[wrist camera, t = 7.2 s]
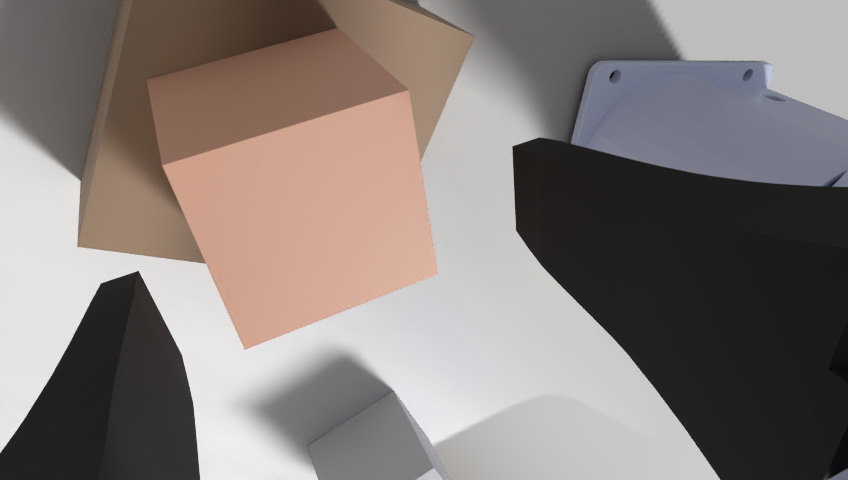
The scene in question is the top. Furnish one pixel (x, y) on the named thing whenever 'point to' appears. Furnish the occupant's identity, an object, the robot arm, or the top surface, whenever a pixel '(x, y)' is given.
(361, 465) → the grey cube
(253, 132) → the terracotta cube
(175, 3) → the walnut block
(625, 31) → the top surface
